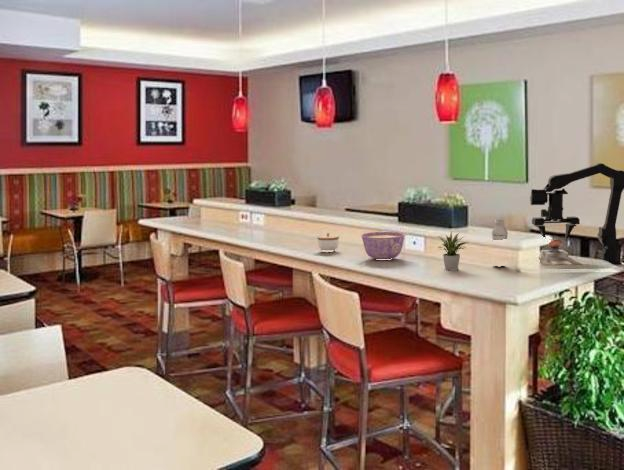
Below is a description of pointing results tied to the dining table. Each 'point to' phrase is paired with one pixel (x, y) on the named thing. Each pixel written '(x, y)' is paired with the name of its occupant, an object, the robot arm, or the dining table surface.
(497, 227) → the plastic bottle
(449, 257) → the house plant
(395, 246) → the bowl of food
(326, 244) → the lidded jar
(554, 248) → the copper knob
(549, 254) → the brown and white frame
